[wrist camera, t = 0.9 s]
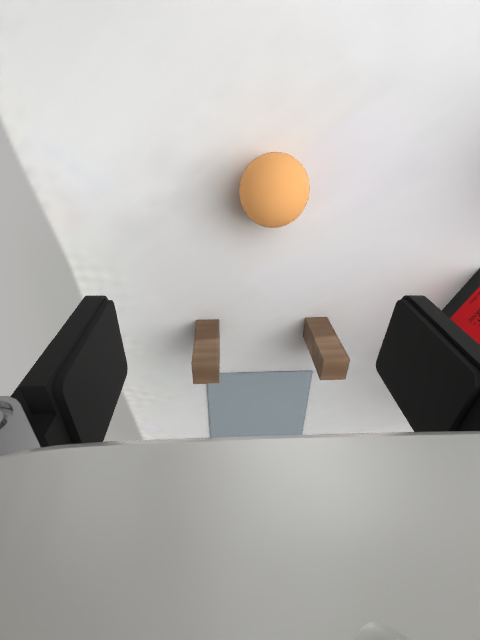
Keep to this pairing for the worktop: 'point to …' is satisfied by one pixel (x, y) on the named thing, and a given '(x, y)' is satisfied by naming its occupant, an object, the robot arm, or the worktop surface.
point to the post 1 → (206, 352)
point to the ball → (274, 189)
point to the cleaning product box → (467, 308)
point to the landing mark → (258, 403)
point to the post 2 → (325, 349)
